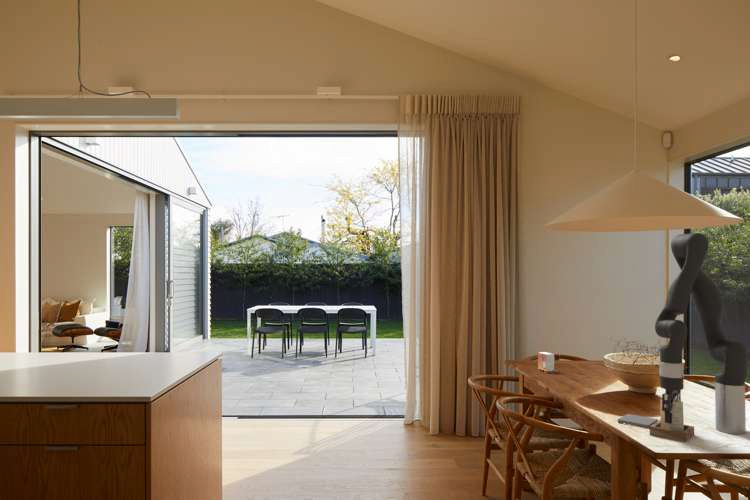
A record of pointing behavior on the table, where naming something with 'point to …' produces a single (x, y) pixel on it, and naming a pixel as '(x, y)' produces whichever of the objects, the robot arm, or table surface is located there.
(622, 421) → the rubber mat
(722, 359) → the robot arm
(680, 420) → the skincare box
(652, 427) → the pocket holder
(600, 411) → the table surface
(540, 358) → the small box
